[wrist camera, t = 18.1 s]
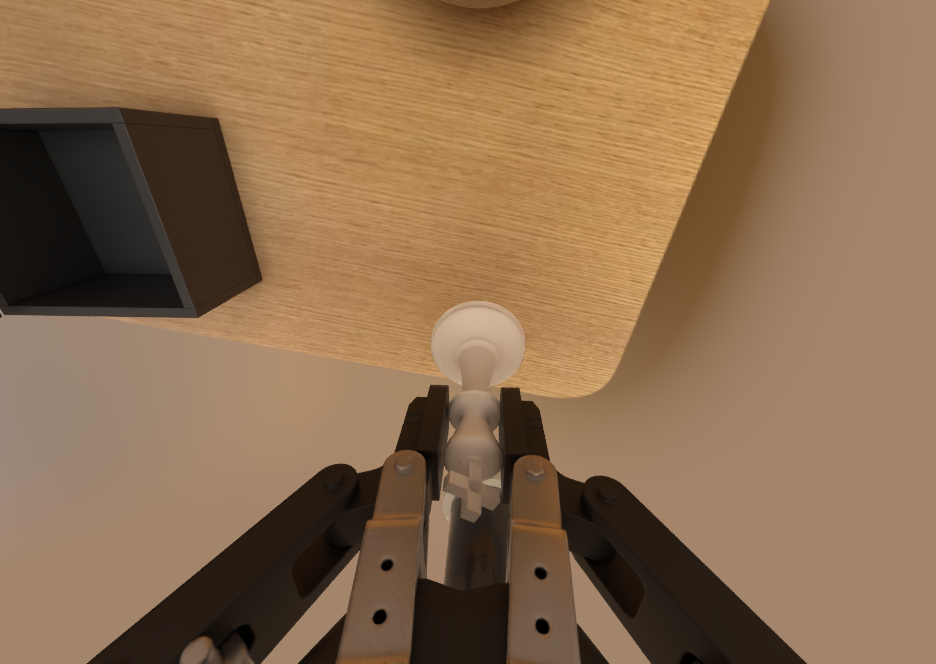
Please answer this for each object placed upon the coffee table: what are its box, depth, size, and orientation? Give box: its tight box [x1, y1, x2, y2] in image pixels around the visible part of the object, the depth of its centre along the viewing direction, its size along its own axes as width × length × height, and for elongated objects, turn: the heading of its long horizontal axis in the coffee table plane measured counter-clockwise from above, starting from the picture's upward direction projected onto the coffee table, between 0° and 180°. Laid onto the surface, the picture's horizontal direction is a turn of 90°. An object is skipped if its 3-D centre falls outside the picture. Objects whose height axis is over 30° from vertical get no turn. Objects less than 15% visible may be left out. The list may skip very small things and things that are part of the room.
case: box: [0, 107, 262, 318], centre depth 28 cm, size 16×14×9 cm
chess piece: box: [431, 301, 525, 523], centre depth 15 cm, size 5×5×10 cm
